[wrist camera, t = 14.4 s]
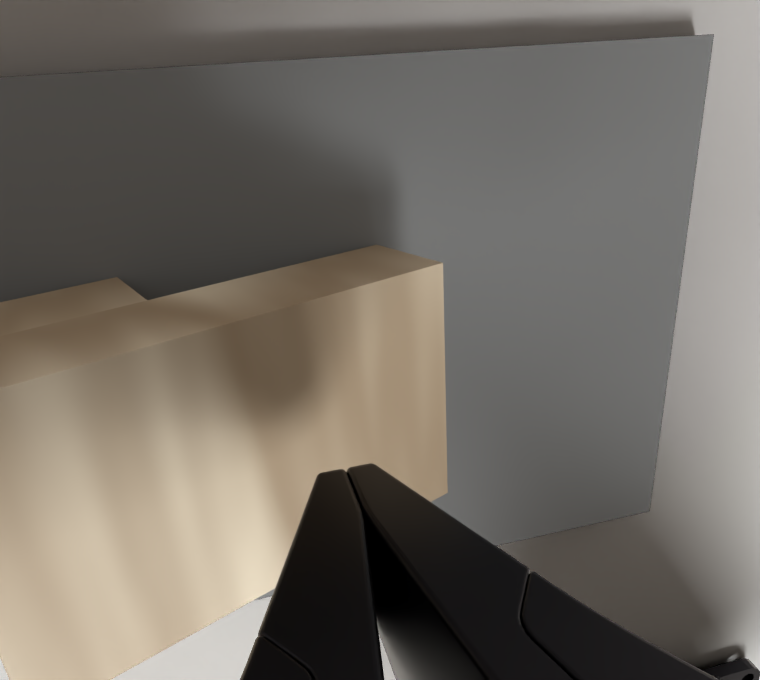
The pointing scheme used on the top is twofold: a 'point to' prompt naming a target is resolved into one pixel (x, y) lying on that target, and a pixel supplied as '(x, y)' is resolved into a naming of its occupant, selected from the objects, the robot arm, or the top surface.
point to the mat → (407, 227)
